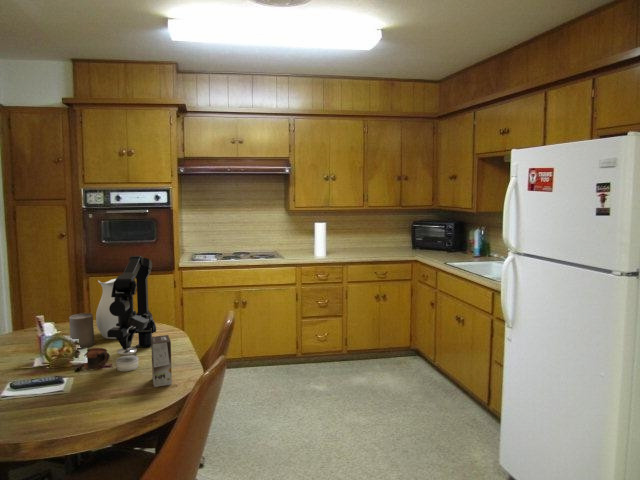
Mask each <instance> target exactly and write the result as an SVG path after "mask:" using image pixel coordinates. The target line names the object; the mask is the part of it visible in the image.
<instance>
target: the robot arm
mask: <svg viewBox="0 0 640 480" xmlns="http://www.w3.org/2000/svg"><path fill="white" fill-rule="evenodd" d="M152 269H153V261H152V260H151V259H150V258H146V257H144V256H141V255H131V256H129V260H128V263H127V265H126V267H125V269H124V271H123V273H122V274H119V275H117V277H116V278H115V279H116V280H115V281H114V284H113V289H112V295H111V297H115V301H114V302H113V303H112V304H111V305H110V307H109V310H110V313H111V314H112V315H114V316H118V323H117V324H116V326H119V327H113V328H111V329H110V330H109V331H108V332H107V337H116V338H117V339H116V340H117V341H118V342H119V344H120V346H121V349H122V348H123V350H126V349H127V342H128V340H130V341H131V344H132V343H133V339H134V335H135V334H138V344H136V345H135V348H151V337H153V334H154V333H157V325H156V323H155V320H154V318H153V314H152V312H151V311H150V310H149V284H148V280H149V279H148V278H149V276H150V274H151V273H152ZM116 291H117V293H116ZM135 294H136V299H137V302H136V303H137V305H136V306H137V311H136V310H134V296H135Z"/></svg>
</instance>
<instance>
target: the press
mask: <svg viewBox="0 0 640 480" xmlns="http://www.w3.org/2000/svg"><path fill="white" fill-rule="evenodd" d="M139 359H140V358H139V356H138V355H137V354H135V353H133V354H128V355H122V356H120V357H117V358H116V359H115V363H116V370H117V371H118V372H131V371H134V370H137V369H138V368H139Z"/></svg>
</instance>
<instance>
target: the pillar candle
mask: <svg viewBox="0 0 640 480" xmlns="http://www.w3.org/2000/svg"><path fill="white" fill-rule="evenodd" d="M68 319H69V322H68V323H69V338H72V339H79V345H80V347H87V348H90V347H92V346H94V345H95V344H96V343H95V332H94V315H93V313H91V312H83V313H82V312H81V313H76V314H72V315H70V316H69V317H68Z"/></svg>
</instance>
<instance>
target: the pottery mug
mask: <svg viewBox="0 0 640 480" xmlns="http://www.w3.org/2000/svg"><path fill="white" fill-rule="evenodd" d="M84 357H85V358H86V361H87V362H85V363H83V366H84V370H88V369H95V370H96V369H97V370H98V369H100V365H101V366H102V367H103V366H105V365H106V364H107V363H108V362H109V360H110V357H111V356H110V353H109V352H108V350H107V348H104V347H92V348H88V349H86V353H84Z"/></svg>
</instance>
